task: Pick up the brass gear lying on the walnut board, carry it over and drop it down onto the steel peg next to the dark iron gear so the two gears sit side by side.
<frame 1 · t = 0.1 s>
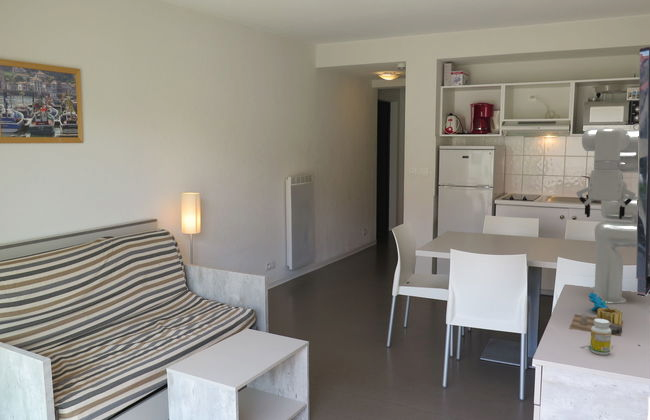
hand: (604, 217, 178), 37 cm above the cabinet, tool pointing down, fingers open, 9 cm apart
brass gear: (609, 322, 181), point 1 cm above the cabinet, touching gear board
supplement bottle: (600, 352, 159), on the cabinet
gear: (599, 314, 194), on the cabinet
gear board: (596, 328, 179), on the cabinet
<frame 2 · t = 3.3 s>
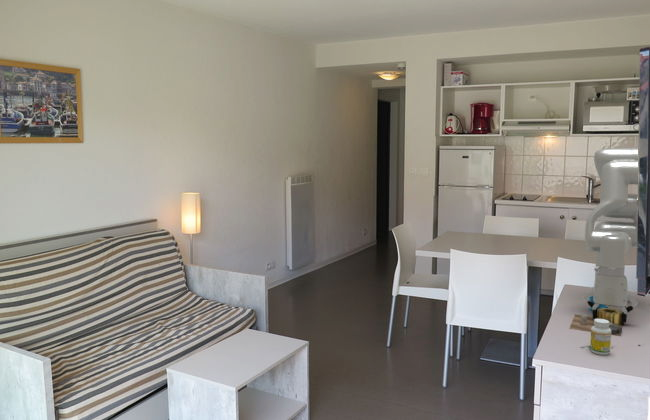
hand: (609, 322, 181), 1 cm above the cabinet, tool pointing down, fingers closed on brass gear, 7 cm apart
brass gear: (609, 322, 181), point 1 cm above the cabinet, touching gear board, gripper
everything else where it was.
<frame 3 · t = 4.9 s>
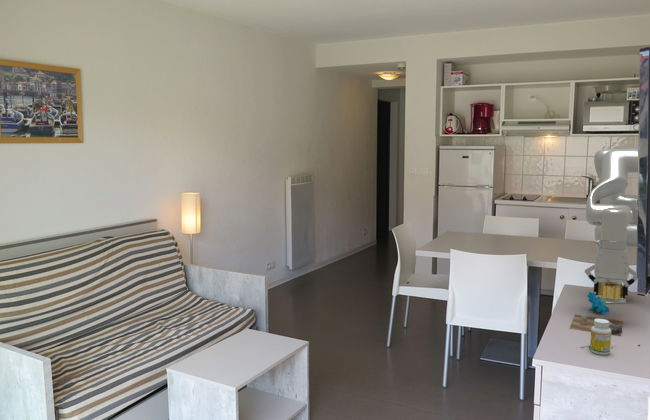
hand: (610, 295, 180), 10 cm above the cabinet, tool pointing down, fingers closed on brass gear, 7 cm apart
brass gear: (610, 295, 180), point 10 cm above the cabinet, touching gripper
everything else where it was.
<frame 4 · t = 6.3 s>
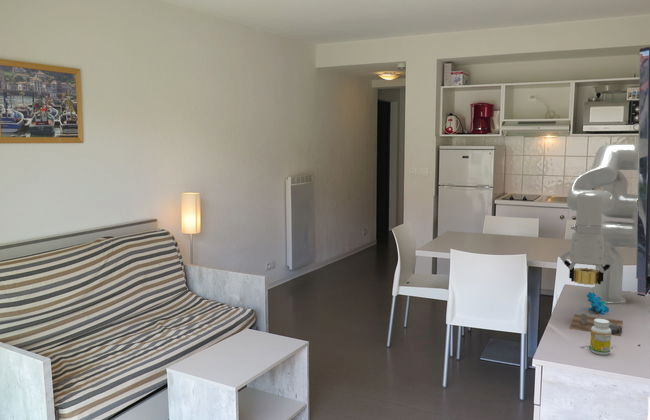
hand: (585, 281, 177), 16 cm above the cabinet, tool pointing down, fingers closed on brass gear, 7 cm apart
brass gear: (585, 282, 177), point 16 cm above the cabinet, touching gripper
everything else where it was.
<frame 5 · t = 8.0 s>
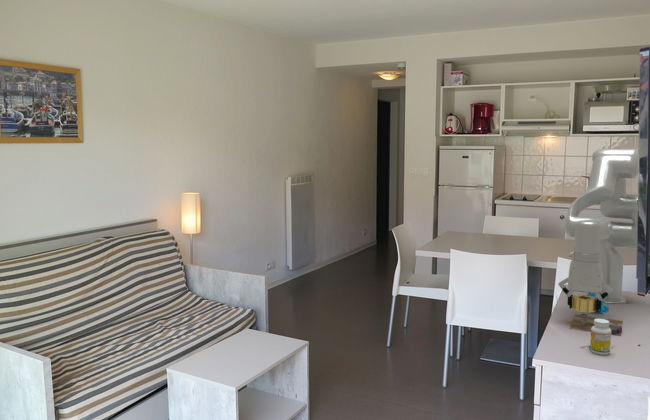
hand: (584, 308, 178), 7 cm above the cabinet, tool pointing down, fingers closed on brass gear, 7 cm apart
brass gear: (584, 309, 178), point 7 cm above the cabinet, touching gripper
everything else where it was.
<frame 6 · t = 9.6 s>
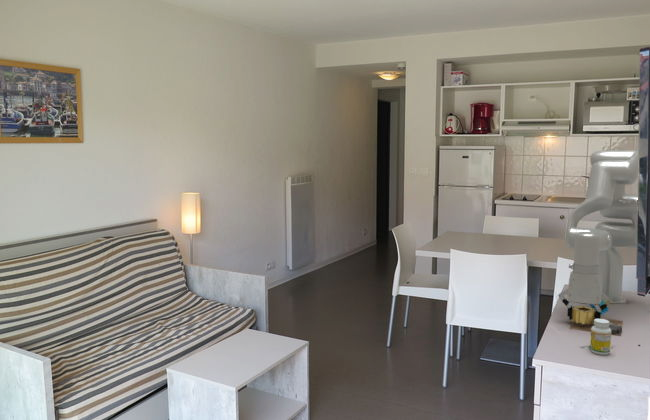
hand: (583, 320, 179), 3 cm above the cabinet, tool pointing down, fingers closed on brass gear, 7 cm apart
brass gear: (583, 320, 179), point 3 cm above the cabinet, touching gripper
when the fingers open (3 cm above the cabinet, at t = 9.8 s): brass gear drops 1 cm, resting on gear board.
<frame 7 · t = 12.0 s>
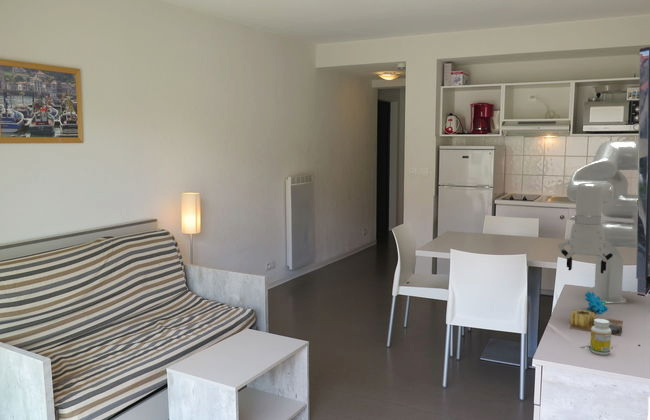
hand: (585, 271, 177), 20 cm above the cabinet, tool pointing down, fingers open, 9 cm apart
brass gear: (582, 324, 179), point 1 cm above the cabinet, touching gear board
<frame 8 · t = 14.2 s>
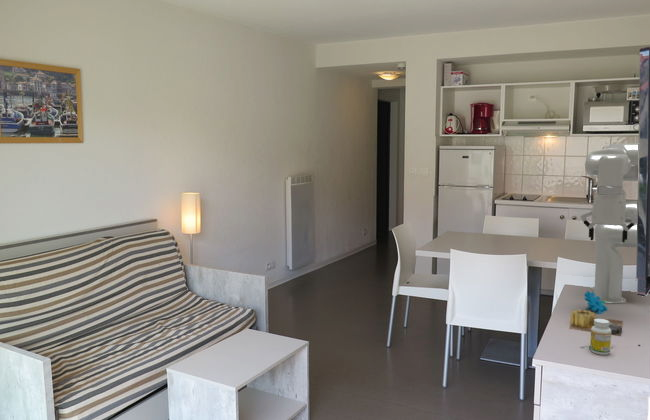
hand: (607, 240, 184), 28 cm above the cabinet, tool pointing down, fingers open, 9 cm apart
at the end: brass gear 0.3 cm from the target spot on the gear board, point 1.2 cm above the gear board's base; brass gear tilted 0°; the gripper is holding nothing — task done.
